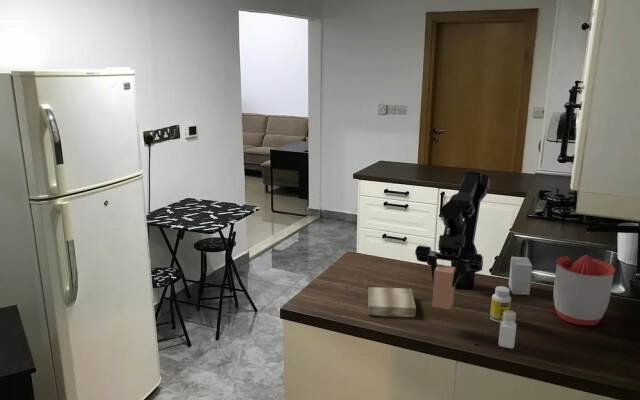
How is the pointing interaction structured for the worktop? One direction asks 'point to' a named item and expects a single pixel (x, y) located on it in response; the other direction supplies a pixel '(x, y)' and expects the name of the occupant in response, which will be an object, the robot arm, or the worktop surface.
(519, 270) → the small box
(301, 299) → the worktop surface
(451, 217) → the robot arm
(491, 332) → the worktop surface
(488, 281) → the worktop surface
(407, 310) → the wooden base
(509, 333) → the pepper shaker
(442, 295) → the terracotta block
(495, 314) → the supplement bottle
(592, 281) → the citrus juicer
